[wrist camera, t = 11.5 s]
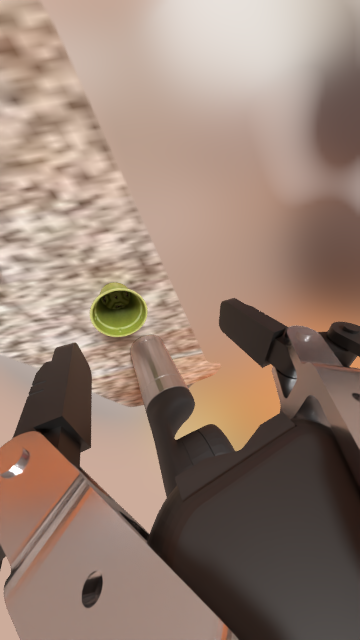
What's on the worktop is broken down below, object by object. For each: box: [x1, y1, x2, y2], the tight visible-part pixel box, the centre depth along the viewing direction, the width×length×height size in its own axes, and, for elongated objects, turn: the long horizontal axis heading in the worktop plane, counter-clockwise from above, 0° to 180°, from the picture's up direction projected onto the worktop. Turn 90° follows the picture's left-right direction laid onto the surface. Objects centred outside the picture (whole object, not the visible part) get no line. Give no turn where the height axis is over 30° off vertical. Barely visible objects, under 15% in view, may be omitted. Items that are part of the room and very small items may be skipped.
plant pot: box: [90, 283, 148, 337], centre depth 32 cm, size 9×9×9 cm
